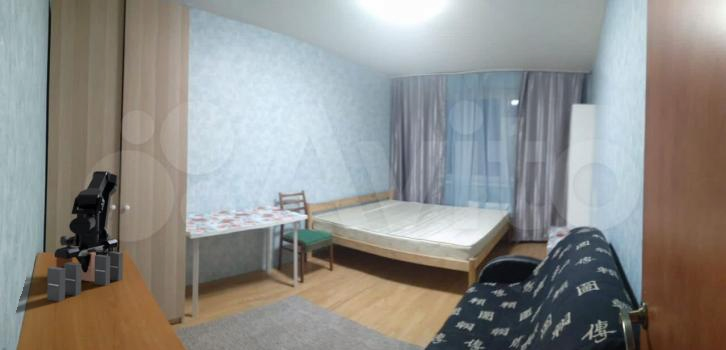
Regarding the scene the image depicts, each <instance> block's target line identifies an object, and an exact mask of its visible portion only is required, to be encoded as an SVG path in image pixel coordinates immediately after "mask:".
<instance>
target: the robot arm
mask: <svg viewBox="0 0 726 350" xmlns="http://www.w3.org/2000/svg"><path fill="white" fill-rule="evenodd" d="M119 185H120V178H119V176H118V175H116V174H113V173H111V172H110V171H106V170H105V171H104V170H96V171H93V174H92V178H91V181H90V182H89V184H88V185H87V188H86V189H84V190H81V191H80V192H79V193H78V194H77V195H76V197H75V198H74V202H73V206H72V210H71V215H76V217H75V218H73V219H72V220H71V221H70V223H69V225H68V228H69V230H70V231H71V232H72V233H73V234H74V235H73V236H70V235H68V234H67V235H61V236H60V240H59V244H60V245H61V246H65V247H59V248H56V250H55V251H54V258H64V259H70V258H73V259H74V258H75V259H76V260H77V261H78V264H81V267H82V270H83V272H85V273H86V272H87V270H88V266H89V261H90V256H91V254H87V251H88V252H95V253H96V255H105V256H108V252H111V251H113V252H115V248H119V242H118V240H117V239H116V238H111V235H110V234H109V233H110V232H108V230H107V229H108V228H107V227H108V220H109V216H110V215H109V213H110V205H111V199H112V196H113V195H114V194H115V193H116V192H117V189H118V187H119Z"/></svg>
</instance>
